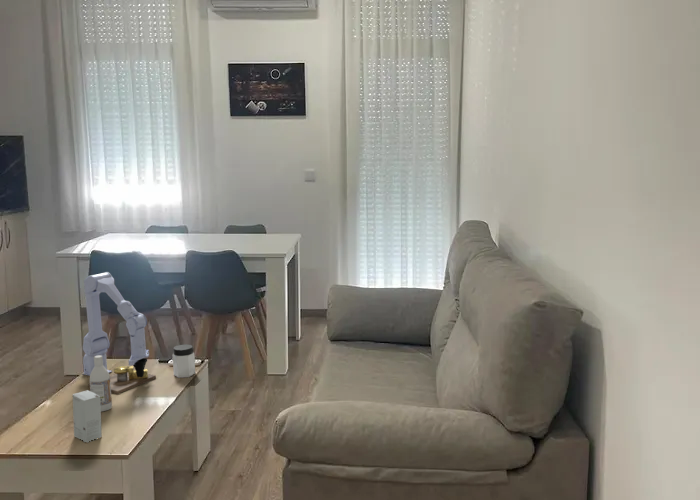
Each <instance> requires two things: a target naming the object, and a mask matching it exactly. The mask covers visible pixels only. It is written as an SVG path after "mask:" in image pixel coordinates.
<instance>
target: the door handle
mask: <svg viewBox="0 0 700 500" xmlns="http://www.w3.org/2000/svg"><path fill="white" fill-rule="evenodd" d="M127 372H128V375H129V379H138V378H148V374H149V371H148V368H144V375H143V377H137V374H136V370H135V368H134V366H133V365H132V366H130V367H129V365H120V366H116V367H114V368H113V373H114V374H124V373H127Z"/></svg>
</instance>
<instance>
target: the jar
mask: <svg viewBox="0 0 700 500" xmlns="http://www.w3.org/2000/svg"><path fill="white" fill-rule="evenodd" d="M172 349H173V350H172V366H173V367H172V369H173V376H175V377H176V378H178V379H179V378H190V377H191V376H193V374H194V375H195V374H196V363H195V362H196V360H195V359H196V358H195V352H194V345H192V344H186V343H185V344H177V345H175V346H173V348H172Z"/></svg>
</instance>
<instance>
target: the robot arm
mask: <svg viewBox="0 0 700 500" xmlns="http://www.w3.org/2000/svg"><path fill="white" fill-rule="evenodd" d="M83 283H84V298H85V308H86V316H87V318H86V319H87V327H88V332H87V333H86V335H84V337H83V343H82V350H83V352H84V353H85V354H84V356H83V358H82V364H83V372H82V373H81V374H82V375H85V376H89V377H90V374H91V372H92V370H93V368H94V367H95V365H94V357H95V356H98V355H101V356H102V359H103V366H104V367H105V368H106V369H107V371H108V372H109V374H110V373H112V372H113V371H112V370H109V369H108V362H107V353H108V349H109V348H110V340H109V337H108V333H107V332H105V331H104V330H103V324H102V313H101V312H102V311H101V301H100V300H101V299H100V294H101V293H106V294H107V296H108V297H109V298H110V299H111V300H112V301H113V302H114V303H115V305H116V306H117V308H116V309H117V311H118V313H119V314H120V315H121V317H122V318H123V319H124V321H125V322H126V323H125V327H126V328H127V330H128V334H129V338H130V339H129V340H130V353H131V355H130V357H129V360H128V366H129V365H132V366H133V368H134V370H136V374H137V377H143V375H144V369H146V368H145V367H146V364H147V362H148V357H150V350H149V349H147V348H146V347H147V344H146V330H145V328H146V327H147V326H148V318H147V317H146V315H145V314H143V313H141V312H138V311H137V310H136V308H135V307H134V306H133V303H131V302H130V300H125V299H124V297H123V295H122V294H121V292H120V291H119V289H118V288H117V286H116V285H115V278H114V277H113V275H112V274H111V273H110V272H109V271H104V272H101V273H98V274H97V273H96V274H91V275H88V276H86V277H85V278H84V280H83ZM83 373H84V374H83Z"/></svg>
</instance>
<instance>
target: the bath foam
mask: <svg viewBox="0 0 700 500" xmlns="http://www.w3.org/2000/svg"><path fill="white" fill-rule="evenodd" d="M94 365H95V367H94V368H93V370H92V372H91V374H90V376H89V384H90V387H89V388H90V390H89V391H91V392H93V393H95V394H96V395H98V396H100V405H101V413H102V412H105V411H109V410H111V409H112V407H113V401H112V398H113V397H112V393H111V385H110V376H111V375H110V373H109V372H108V371H107V370H108V368H107V369H106V368H105V367H104V366H103V359H102V356H101V355H98V356H95V357H94Z"/></svg>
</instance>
